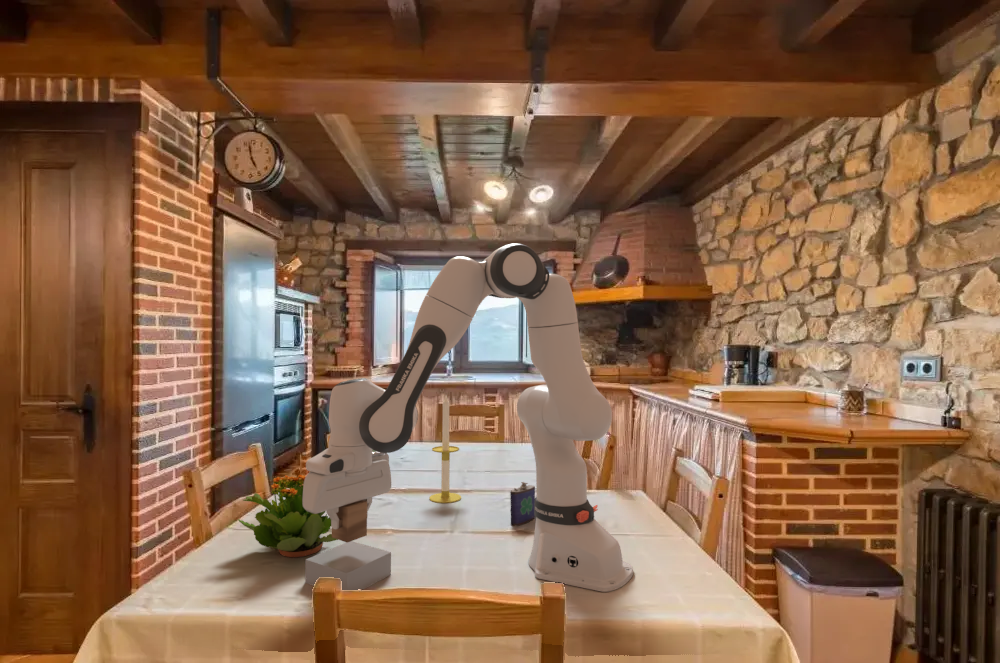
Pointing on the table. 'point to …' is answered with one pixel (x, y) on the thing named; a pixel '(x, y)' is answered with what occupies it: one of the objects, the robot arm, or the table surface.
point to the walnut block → (352, 522)
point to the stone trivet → (350, 565)
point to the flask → (522, 504)
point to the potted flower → (289, 521)
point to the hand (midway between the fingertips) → (349, 523)
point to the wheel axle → (445, 461)
